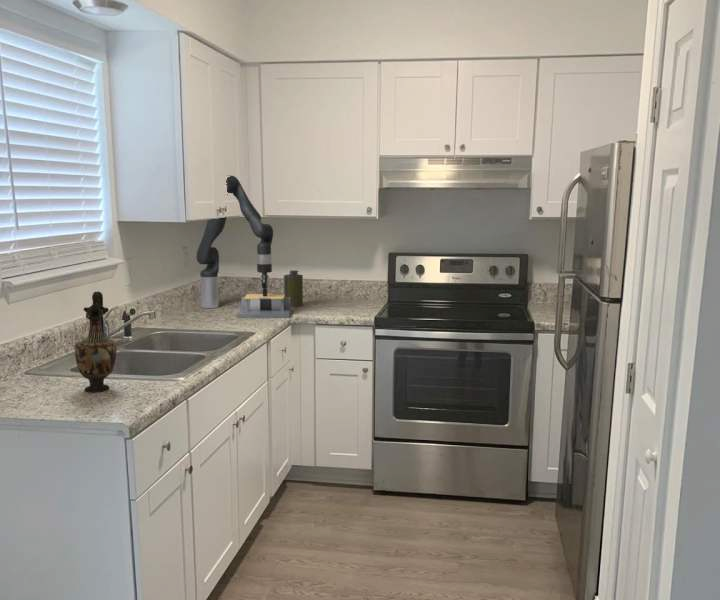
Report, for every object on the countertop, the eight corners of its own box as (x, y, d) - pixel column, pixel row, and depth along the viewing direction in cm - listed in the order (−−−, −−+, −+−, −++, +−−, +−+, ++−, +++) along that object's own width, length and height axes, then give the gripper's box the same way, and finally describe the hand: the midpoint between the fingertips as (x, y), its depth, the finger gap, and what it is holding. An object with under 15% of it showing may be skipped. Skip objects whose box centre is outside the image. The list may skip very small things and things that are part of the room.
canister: (297, 303, 351) (297, 269, 348) (306, 306, 343) (306, 271, 340) (280, 305, 346) (280, 270, 342) (289, 307, 337) (288, 272, 334)
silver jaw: (251, 308, 321) (251, 297, 320) (260, 308, 321) (260, 297, 321) (250, 310, 316) (250, 299, 315) (260, 310, 317) (259, 299, 316)
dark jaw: (272, 308, 322) (272, 297, 321) (281, 308, 322) (281, 297, 321) (271, 310, 317) (271, 299, 316) (281, 310, 317) (281, 299, 316)
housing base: (241, 311, 325) (241, 295, 324) (290, 311, 327) (290, 295, 326) (237, 318, 306) (236, 301, 304) (289, 317, 308) (288, 301, 306)
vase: (71, 395, 182) (64, 296, 177) (86, 383, 194) (80, 290, 189) (111, 394, 183) (106, 296, 178) (124, 382, 195) (119, 290, 190)
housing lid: (247, 295, 324) (247, 293, 324) (284, 295, 325) (284, 293, 325) (244, 299, 310) (243, 297, 309) (283, 299, 311) (283, 297, 311)
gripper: (270, 264, 307) (271, 298, 309) (272, 261, 320) (273, 294, 322) (255, 264, 306) (256, 298, 309) (258, 262, 319) (259, 294, 322)
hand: (265, 296), depth 315 cm, fingers closed
